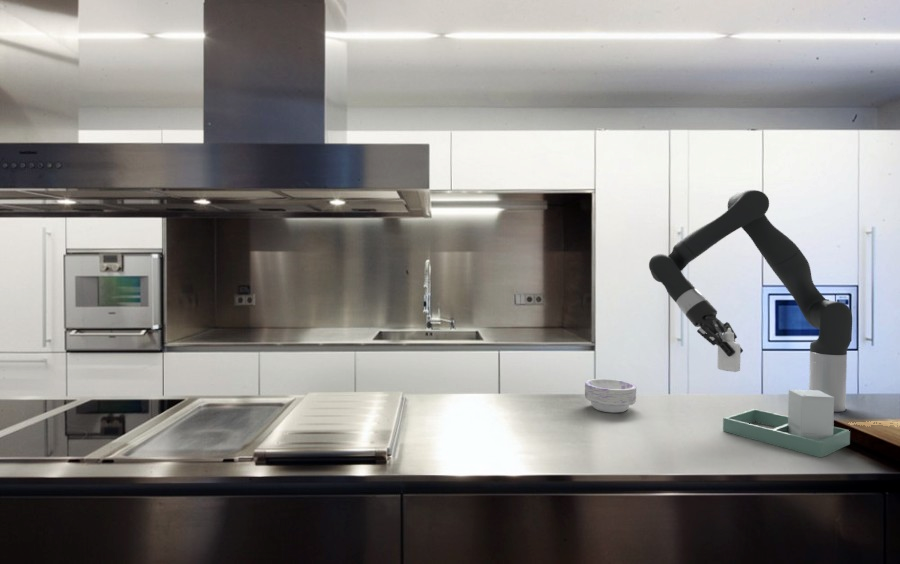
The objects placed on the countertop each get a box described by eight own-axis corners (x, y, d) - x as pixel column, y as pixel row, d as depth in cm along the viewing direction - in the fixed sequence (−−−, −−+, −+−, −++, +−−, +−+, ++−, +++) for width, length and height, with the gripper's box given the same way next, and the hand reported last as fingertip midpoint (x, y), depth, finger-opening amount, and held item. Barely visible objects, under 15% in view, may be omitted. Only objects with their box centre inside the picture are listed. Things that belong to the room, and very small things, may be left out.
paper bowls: (646, 410, 159) (646, 384, 158) (614, 419, 150) (614, 391, 150) (606, 399, 171) (606, 375, 171) (574, 407, 163) (574, 382, 162)
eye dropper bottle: (729, 367, 151) (729, 326, 150) (742, 372, 145) (743, 329, 144) (715, 368, 150) (715, 327, 149) (728, 372, 144) (728, 329, 144)
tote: (753, 420, 148) (753, 408, 148) (849, 444, 129) (850, 430, 129) (723, 430, 139) (723, 418, 139) (821, 457, 120) (821, 442, 120)
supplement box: (834, 449, 125) (835, 397, 124) (799, 447, 126) (801, 395, 126) (818, 439, 132) (820, 389, 132) (786, 437, 134) (787, 388, 133)
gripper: (690, 300, 149) (732, 348, 139) (718, 298, 157) (759, 343, 147) (673, 317, 154) (712, 364, 144) (701, 314, 161) (740, 359, 152)
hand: (736, 353), depth 146 cm, fingers closed on eye dropper bottle, 3 cm apart
